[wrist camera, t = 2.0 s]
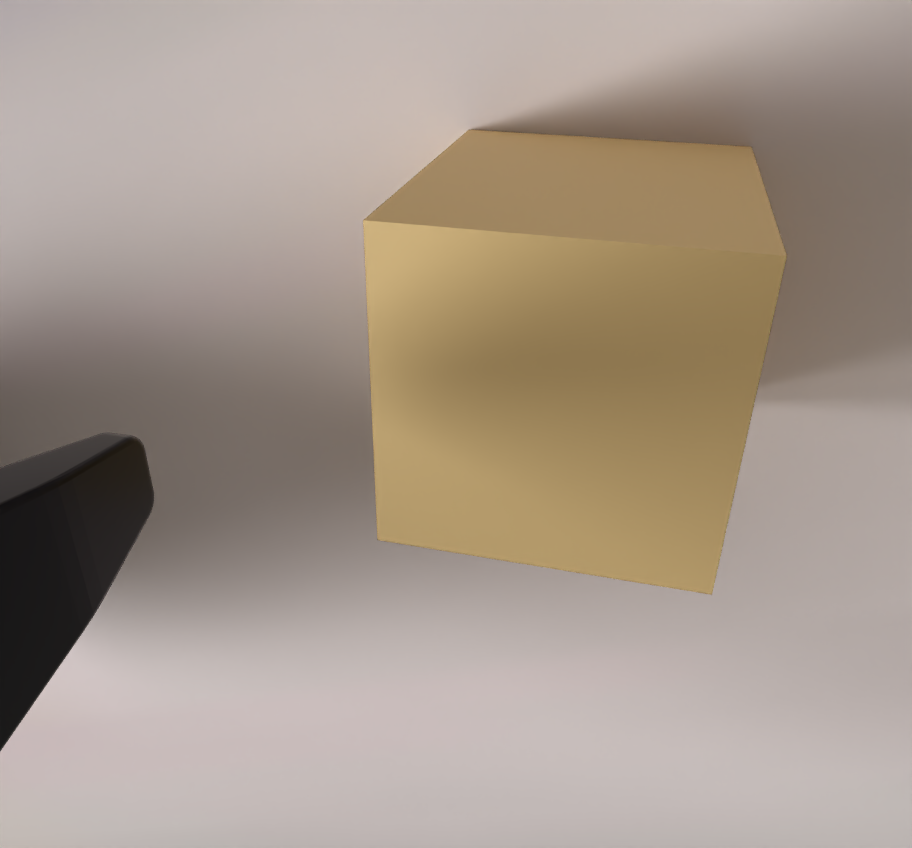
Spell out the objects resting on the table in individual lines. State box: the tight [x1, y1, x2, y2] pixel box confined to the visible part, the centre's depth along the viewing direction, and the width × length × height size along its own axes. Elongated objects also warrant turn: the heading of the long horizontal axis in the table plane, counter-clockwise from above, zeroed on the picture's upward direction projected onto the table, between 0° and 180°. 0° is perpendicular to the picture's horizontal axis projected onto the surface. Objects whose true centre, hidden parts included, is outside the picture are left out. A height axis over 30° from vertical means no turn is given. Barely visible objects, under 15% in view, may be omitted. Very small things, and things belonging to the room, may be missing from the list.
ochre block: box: [363, 130, 787, 595], centre depth 14 cm, size 5×5×6 cm
